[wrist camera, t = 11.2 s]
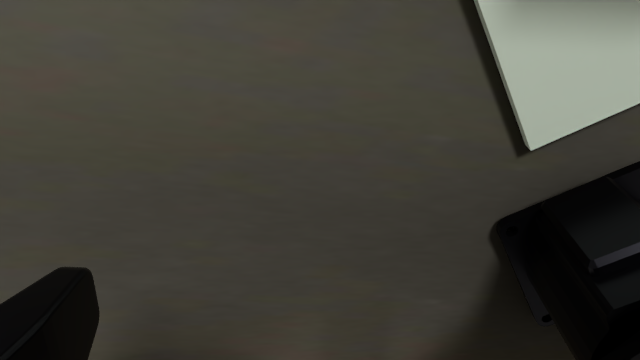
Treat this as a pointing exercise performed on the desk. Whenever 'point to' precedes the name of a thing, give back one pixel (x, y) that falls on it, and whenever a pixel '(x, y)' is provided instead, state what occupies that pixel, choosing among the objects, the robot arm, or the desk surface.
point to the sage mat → (564, 61)
